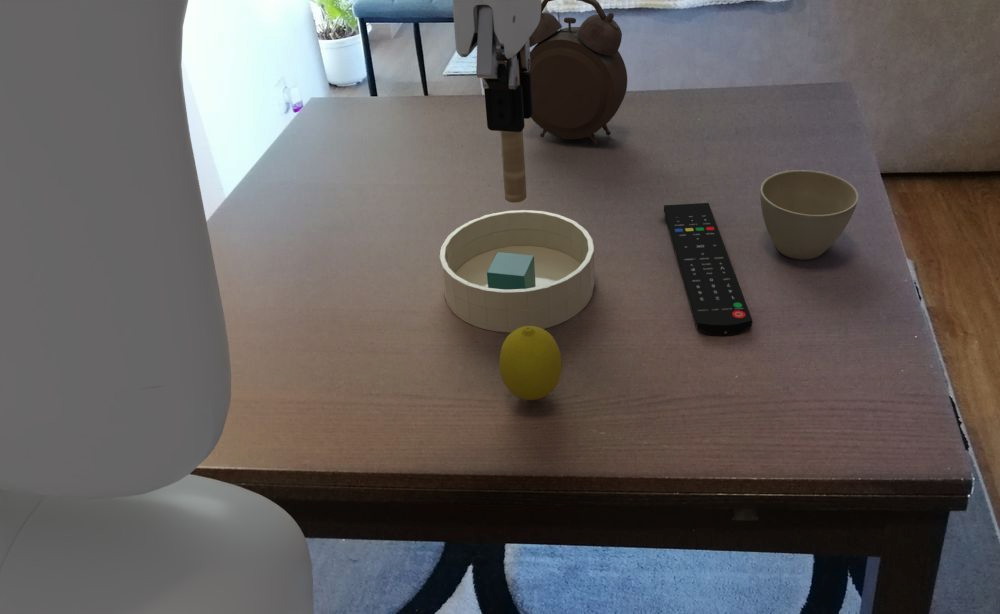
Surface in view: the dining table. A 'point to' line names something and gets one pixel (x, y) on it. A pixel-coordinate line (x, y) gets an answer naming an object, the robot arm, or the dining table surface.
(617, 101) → the alarm clock
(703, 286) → the remote control
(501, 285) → the block
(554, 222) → the bowl
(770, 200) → the flower pot
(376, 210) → the dining table surface
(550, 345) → the lemon
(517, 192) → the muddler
